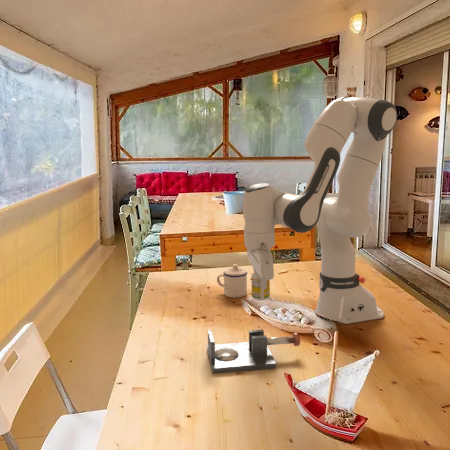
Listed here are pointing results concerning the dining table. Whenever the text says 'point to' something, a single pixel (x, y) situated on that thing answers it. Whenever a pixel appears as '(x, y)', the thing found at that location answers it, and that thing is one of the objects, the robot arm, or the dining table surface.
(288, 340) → the ram
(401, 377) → the dining table surface
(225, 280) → the teacup with lid
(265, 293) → the supplement bottle
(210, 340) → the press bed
